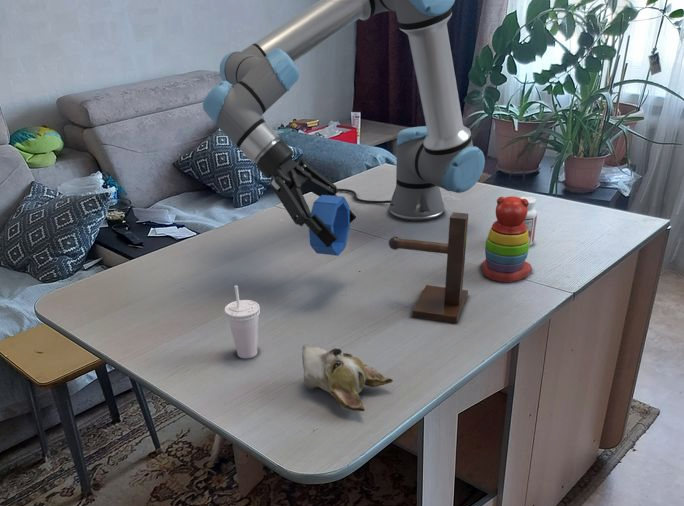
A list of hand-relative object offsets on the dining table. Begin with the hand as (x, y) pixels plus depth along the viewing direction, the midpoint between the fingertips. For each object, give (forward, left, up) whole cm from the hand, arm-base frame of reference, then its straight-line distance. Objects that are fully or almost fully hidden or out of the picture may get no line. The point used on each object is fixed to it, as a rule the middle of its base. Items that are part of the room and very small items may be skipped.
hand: (342, 231), depth 133 cm
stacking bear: (+23, +29, -14) cm, 40 cm away
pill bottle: (+18, +47, -14) cm, 52 cm away
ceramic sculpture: (+23, -29, -14) cm, 40 cm away
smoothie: (+1, -30, -14) cm, 33 cm away
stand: (+17, +6, -14) cm, 23 cm away
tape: (-3, -1, -4) cm, 5 cm away
